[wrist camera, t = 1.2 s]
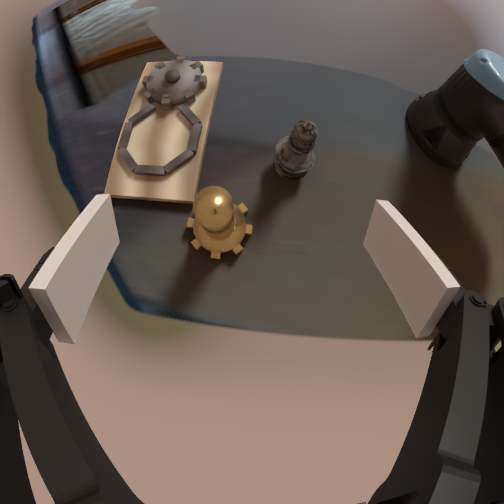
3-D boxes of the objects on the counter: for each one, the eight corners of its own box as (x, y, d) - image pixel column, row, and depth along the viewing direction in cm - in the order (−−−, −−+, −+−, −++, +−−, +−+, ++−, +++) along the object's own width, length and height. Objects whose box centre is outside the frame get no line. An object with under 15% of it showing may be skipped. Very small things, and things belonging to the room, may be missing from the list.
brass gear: (254, 202, 40) (261, 169, 28) (247, 263, 39) (251, 254, 27) (194, 195, 40) (178, 161, 28) (185, 255, 39) (163, 243, 27)
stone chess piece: (281, 187, 41) (298, 151, 29) (265, 153, 41) (274, 108, 29) (317, 174, 41) (343, 137, 29) (300, 141, 42) (319, 97, 30)
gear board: (223, 67, 43) (222, 50, 38) (195, 204, 40) (190, 194, 35) (149, 67, 42) (143, 52, 38) (107, 197, 39) (95, 188, 35)
